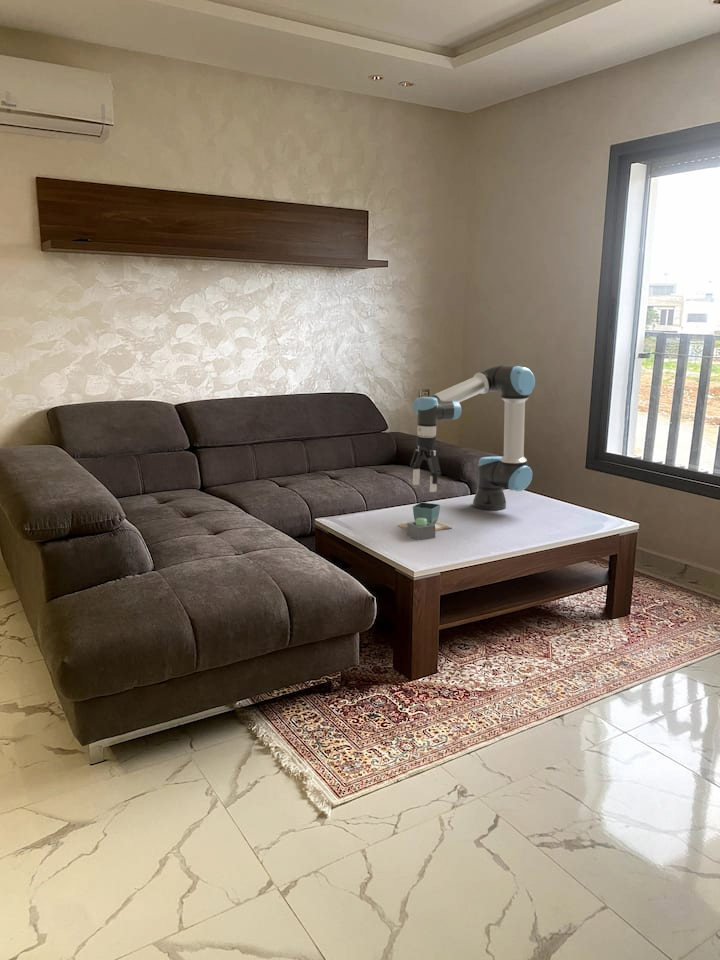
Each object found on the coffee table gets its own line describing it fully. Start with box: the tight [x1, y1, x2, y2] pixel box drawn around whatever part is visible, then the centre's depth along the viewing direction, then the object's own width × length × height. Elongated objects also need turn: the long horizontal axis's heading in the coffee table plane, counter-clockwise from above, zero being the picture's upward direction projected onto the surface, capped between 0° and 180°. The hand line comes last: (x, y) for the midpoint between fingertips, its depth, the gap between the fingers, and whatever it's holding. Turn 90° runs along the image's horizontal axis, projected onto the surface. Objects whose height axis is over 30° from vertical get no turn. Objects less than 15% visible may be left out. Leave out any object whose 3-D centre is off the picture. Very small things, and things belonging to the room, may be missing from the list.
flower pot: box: [412, 502, 441, 525], centre depth 307 cm, size 9×9×9 cm
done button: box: [416, 518, 427, 526], centre depth 296 cm, size 4×4×5 cm
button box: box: [406, 521, 436, 541], centre depth 297 cm, size 8×8×5 cm
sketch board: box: [397, 520, 452, 532], centre depth 310 cm, size 18×13×1 cm
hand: (424, 488), depth 304 cm, fingers open, 13 cm apart
